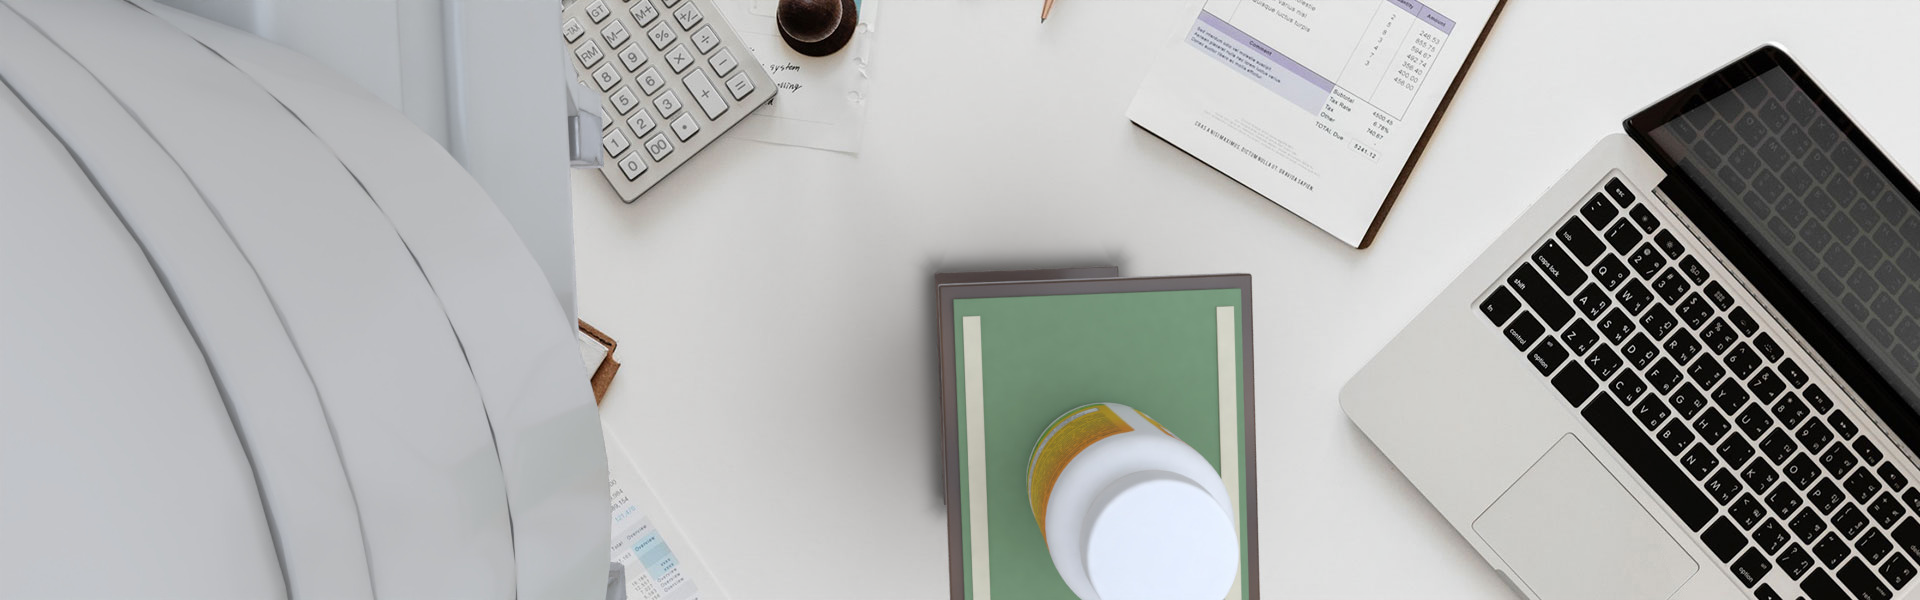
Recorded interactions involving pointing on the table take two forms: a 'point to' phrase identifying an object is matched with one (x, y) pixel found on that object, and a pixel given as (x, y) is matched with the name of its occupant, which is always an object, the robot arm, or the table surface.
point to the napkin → (1078, 359)
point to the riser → (1071, 284)
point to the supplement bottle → (1130, 508)
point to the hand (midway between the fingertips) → (576, 367)
